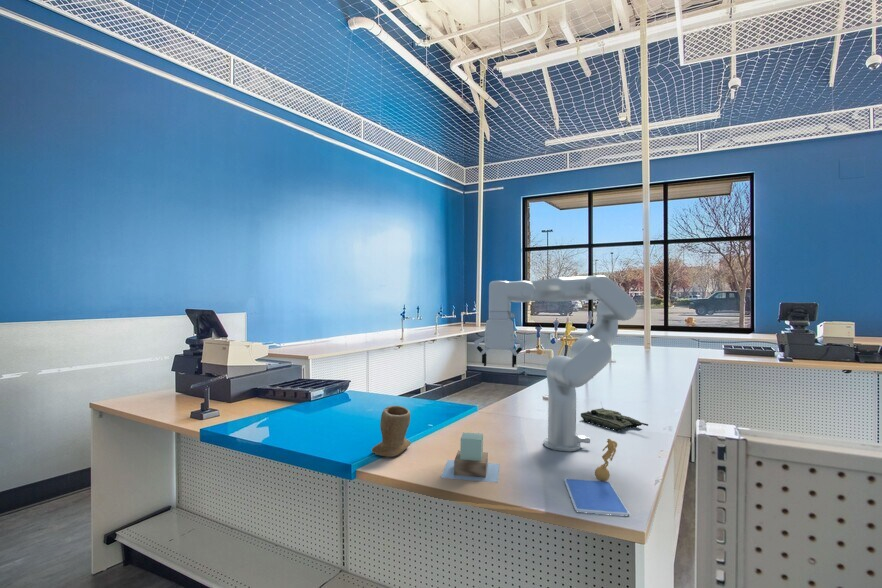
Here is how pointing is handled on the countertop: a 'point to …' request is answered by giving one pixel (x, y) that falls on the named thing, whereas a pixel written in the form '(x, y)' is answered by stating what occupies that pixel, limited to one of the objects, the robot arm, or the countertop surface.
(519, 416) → the countertop surface
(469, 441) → the sage cube
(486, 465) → the walnut base block
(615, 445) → the figurine
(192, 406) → the countertop surface
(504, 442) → the countertop surface
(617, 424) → the toy tank
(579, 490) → the tablet computer
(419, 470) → the countertop surface
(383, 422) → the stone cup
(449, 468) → the light blue mat
